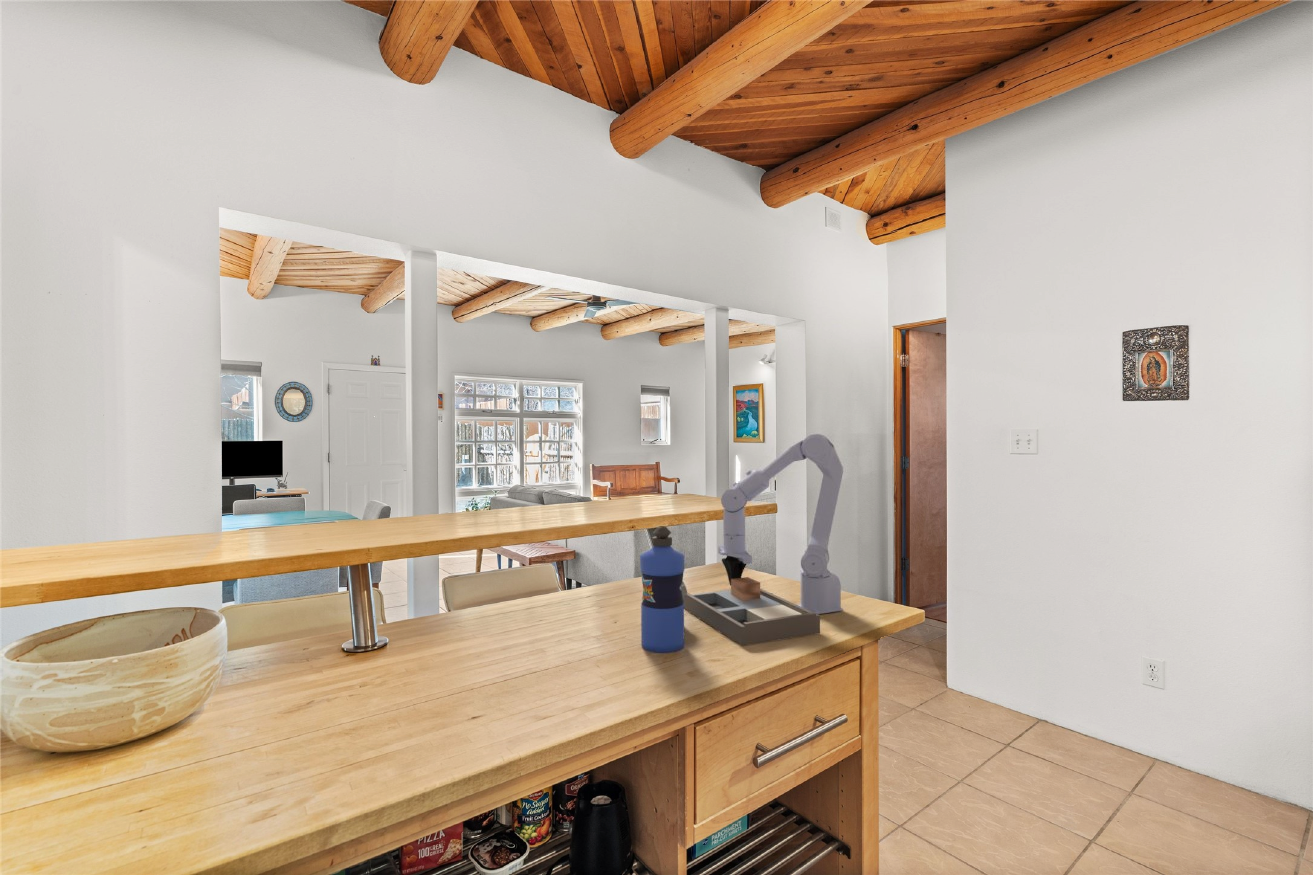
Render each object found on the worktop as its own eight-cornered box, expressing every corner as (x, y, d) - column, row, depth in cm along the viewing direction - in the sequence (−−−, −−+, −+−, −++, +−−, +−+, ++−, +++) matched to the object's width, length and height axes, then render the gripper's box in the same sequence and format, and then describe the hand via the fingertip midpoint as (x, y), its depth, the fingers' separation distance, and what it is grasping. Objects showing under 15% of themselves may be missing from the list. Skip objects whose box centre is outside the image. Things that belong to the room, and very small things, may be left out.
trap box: (750, 598, 162) (749, 581, 162) (820, 633, 134) (820, 613, 134) (682, 607, 155) (682, 589, 154) (741, 645, 127) (741, 624, 127)
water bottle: (650, 655, 122) (649, 532, 121) (634, 640, 130) (633, 525, 130) (692, 649, 125) (691, 528, 125) (674, 635, 134) (673, 522, 133)
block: (747, 592, 157) (747, 577, 157) (760, 598, 152) (760, 582, 152) (731, 594, 155) (730, 578, 155) (742, 600, 150) (742, 584, 150)
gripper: (708, 530, 164) (708, 580, 164) (734, 539, 150) (734, 594, 150) (731, 529, 166) (731, 578, 167) (759, 537, 153) (759, 591, 153)
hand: (734, 585), depth 159 cm, fingers closed
